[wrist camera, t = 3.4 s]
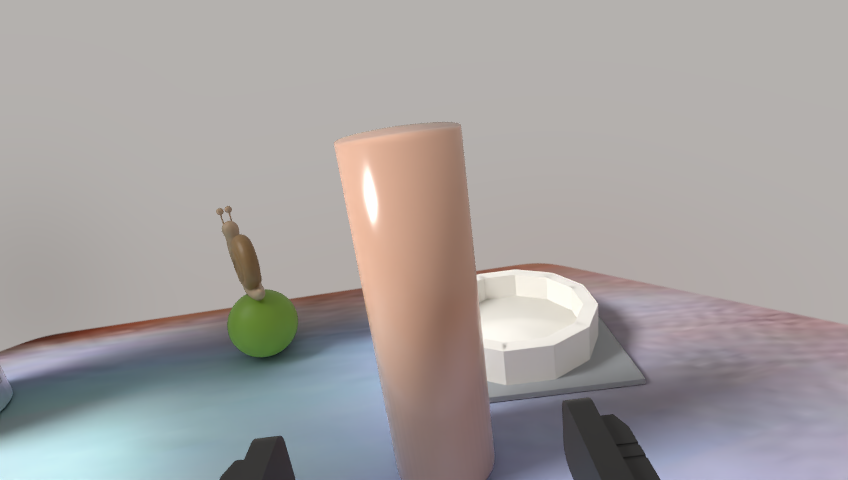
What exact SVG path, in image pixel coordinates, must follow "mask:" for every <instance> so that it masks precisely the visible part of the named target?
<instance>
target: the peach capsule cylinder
mask: <svg viewBox="0 0 848 480" xmlns="http://www.w3.org/2000/svg"><path fill="white" fill-rule="evenodd" d="M334 146H335V151H336V156H337V161H338V166H339V172H340V177H341V182H342V187H343V192H344V197H345V202H346V208H347V212H348V218H349V223H350V228H351V233H352V238H353V243H354V249H355V254H356V259H357V264H358V269H359V275H360V280H361V285H362V290H363V295H364V300H365V305H366V310H367V316H368V321H369V326H370V331H371V336H372V341H373V346H374V352H375V357H376V362H377V367H378V372H379V377H380V382H381V388H382V393H383V398H384V403H385V408H386V413H387V418H388V423H389V429H390V434H391V439H392V444H393V449H394V454H395V459H396V465H397V470H398V473H399V476H400V478H401V480H486V479H487V478H488V477H489V475H490V473H491V472H492V469H493V466H494V462H495V452H494V442H493V432H492V422H491V413H490V403H489V393H488V383H487V374H486V364H485V354H484V344H483V335H482V325H481V315H480V305H479V296H478V286H477V276H476V268H475V257H474V247H473V237H472V229H471V218H470V208H469V199H468V189H467V179H466V170H465V160H464V150H463V140H462V130H461V125H460V124H458V123H452V122H433V123H420V124H410V125H402V126H395V127H389V128H382V129H377V130H372V131H367V132H362V133H358V134H354V135H350V136H347V137H344V138H341V139H339V140H337V141H335V142H334Z"/></svg>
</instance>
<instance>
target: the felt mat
mask: <svg viewBox="0 0 848 480" xmlns="http://www.w3.org/2000/svg"><path fill="white" fill-rule="evenodd" d="M487 383H488V393H489V403H492V402H500V401H509V400H517V399H525V398H533V397H542V396H550V395H558V394H566V393H574V392H583V391H591V390H599V389H607V388H616V387H624V386H632V385H640V384H645V377H644V376H643V375H642V373H641V372H640V371H639V369H638V368H637V367H636V365H635V364H634V362H633V361H632V360H631V358H630V357H629V356H628V354H627V353H626V352H625V350H624V349H623V348H622V346H621V345H620V344H619V342H618V341H617V340H616V338H615V337H614V336H613V334H612V333H611V332H610V330H609V329H608V328H607V326H606V325H605V324H604V322H603V321H602V320H601V318H600V317H599V316H598V338H597V341H596V343H595V346H594V349H593V352H592V355H591V358H590V360H589V361H587V362H585V363H583V364H582V365H580V366H578V367H576V368H575V369H573V370H571V371H569V372H568V373H566V374H564V375H562V376H561V377H559V378H557V379H554V380H546V381H538V382H529V383H521V384H513V385H503V384H498V383H494V382H489V381H487Z"/></svg>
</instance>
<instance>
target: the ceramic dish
mask: <svg viewBox="0 0 848 480" xmlns="http://www.w3.org/2000/svg"><path fill="white" fill-rule="evenodd" d="M476 276H477V286H478V296H479V305H480V315H481V325H482V335H483V344H484V354H485V364H486V374H487V381H489V382H494V383H498V384H503V385H513V384H521V383H529V382H538V381H546V380H554V379H557V378H559V377H561V376H562V375H564V374H566V373H568V372H569V371H571V370H573V369H575V368H576V367H578V366H580V365H582V364H583V363H585V362H587V361H589V360H590V358H591V355H592V352H593V349H594V346H595V343H596V341H597V338H598V303H597V302H596V301H595V299H594V298H593V297H592V295H591V294H590V293H589V292H588V290H587V289H586V288H585V286H584V285H582V284H580V283H577V282H575V281H572V280H570V279H567V278H564V277H562V276H559V275H557V274H554V273H548V272H537V271H527V270H508V271H500V272H492V273H484V274H478V275H476Z"/></svg>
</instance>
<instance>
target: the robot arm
mask: <svg viewBox="0 0 848 480" xmlns="http://www.w3.org/2000/svg"><path fill="white" fill-rule="evenodd" d="M12 395H13V391H12V388H11V386H10V384H9V382H8V380H7V378H6V376H5V374H4V372H3V370H2V368H1V366H0V411H1V410H2V409H3V408H4V407H5V406H6V405H7V404H8V402H9V401H10V400H11V397H12ZM562 414H563V440H564V450H565V455H566V459H567V463H568V466H569V469H570V472H571V474H572V477H573V479H574V480H660V478H659V476H658V475H657V473H656V471H655V470H654V468H653V466H652V465H651V463H650V461H649V460H648V458H646V456H645V453H644V451H643V450H642V448H641V446H640V445H638V441H637V440H636V438H635V436H634V435H633V433H632V431H631V430H630V428H629V427H628V426H627V425H626V424H625V423H623V422H622V421H621V420H620V419H618V418H617V417H616V416H615V415H613V414H611V415H603V416H600V414H599V412H598V410H597V409H596V407H595V405H594V403H593V401H592V400H591V398H580V399H572V400H564V401H563V403H562ZM220 480H295V476H294V472H293V469H292V465H291V462H290V458H289V455H288V452H287V448H286V445H285V441H284V439H283V437H282V436H275V437H266V438H258V439H254V440H253V441H252V443H251V445H250V447H249V450H248V452H247V454H246V457H245V459H244V460H237V461H235V462H234V463H233V464H232V465H231V466H230V467H229V468H228V469H227V470H226V471H225V473H224V474H223V475H222V476H221V478H220Z"/></svg>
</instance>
